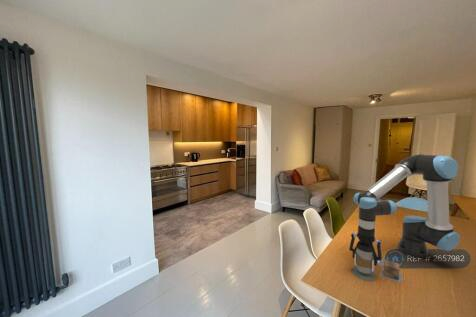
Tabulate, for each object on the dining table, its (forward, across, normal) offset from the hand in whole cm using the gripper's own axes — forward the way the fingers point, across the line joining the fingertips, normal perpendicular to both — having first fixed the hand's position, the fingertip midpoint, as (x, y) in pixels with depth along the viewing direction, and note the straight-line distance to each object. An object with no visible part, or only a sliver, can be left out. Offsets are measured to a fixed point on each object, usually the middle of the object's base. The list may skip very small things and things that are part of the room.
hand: (364, 267), depth 110 cm
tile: (+4, -2, -19) cm, 19 cm away
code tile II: (+4, -11, -9) cm, 15 cm away
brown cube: (+4, -11, -9) cm, 15 cm away
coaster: (+4, 0, 0) cm, 4 cm away
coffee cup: (+2, 0, 0) cm, 2 cm away
